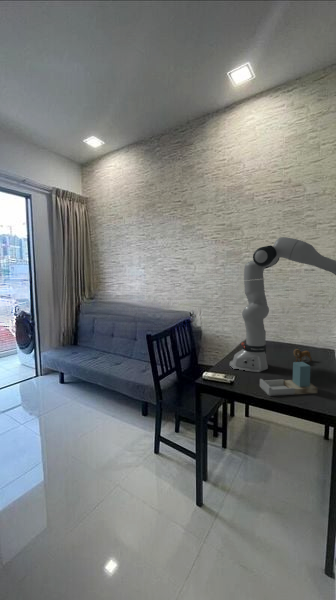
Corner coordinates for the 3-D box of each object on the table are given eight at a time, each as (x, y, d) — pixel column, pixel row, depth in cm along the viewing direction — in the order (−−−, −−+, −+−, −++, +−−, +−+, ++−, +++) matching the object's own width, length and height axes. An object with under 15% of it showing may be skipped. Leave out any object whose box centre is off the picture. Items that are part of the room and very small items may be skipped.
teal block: (302, 381, 126) (302, 361, 125) (309, 386, 120) (310, 366, 119) (292, 381, 125) (293, 362, 124) (299, 386, 120) (300, 366, 119)
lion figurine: (298, 364, 155) (298, 350, 154) (290, 362, 160) (291, 348, 159) (314, 360, 161) (314, 347, 160) (306, 358, 166) (307, 345, 165)
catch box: (283, 385, 127) (283, 377, 127) (294, 394, 118) (294, 386, 117) (259, 386, 127) (259, 378, 126) (269, 395, 117) (269, 387, 116)
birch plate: (304, 383, 128) (304, 379, 128) (317, 393, 118) (317, 387, 118) (283, 385, 127) (283, 380, 127) (294, 394, 118) (295, 389, 117)
